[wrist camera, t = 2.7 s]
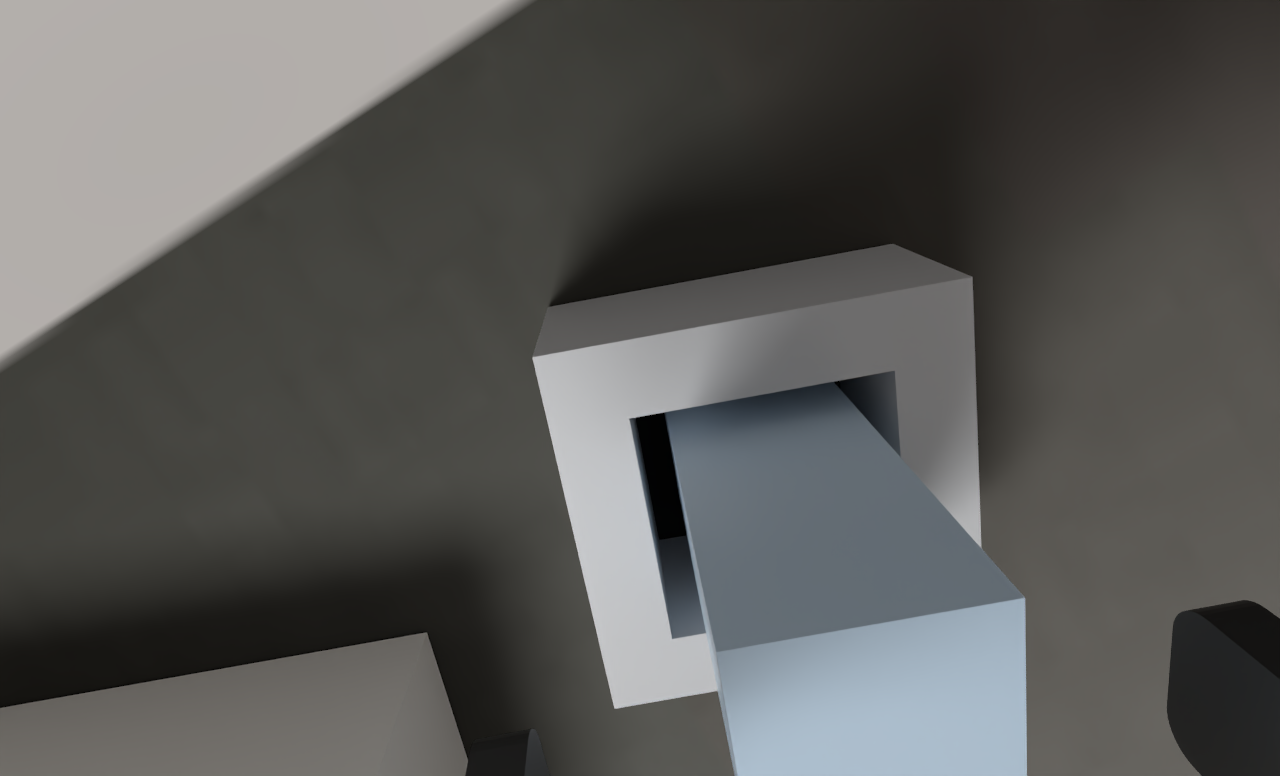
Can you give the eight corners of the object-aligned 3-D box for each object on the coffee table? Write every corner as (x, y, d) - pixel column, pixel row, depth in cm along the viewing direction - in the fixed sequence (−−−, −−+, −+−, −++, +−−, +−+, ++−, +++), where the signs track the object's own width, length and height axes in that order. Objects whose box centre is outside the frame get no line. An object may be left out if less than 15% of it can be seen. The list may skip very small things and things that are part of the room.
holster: (892, 243, 17) (972, 277, 14) (913, 546, 20) (984, 644, 16) (548, 307, 18) (532, 357, 14) (612, 599, 20) (614, 709, 16)
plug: (806, 352, 18) (1024, 597, 9) (821, 485, 19) (1027, 829, 10) (658, 378, 18) (716, 651, 9) (681, 511, 20) (754, 876, 10)
